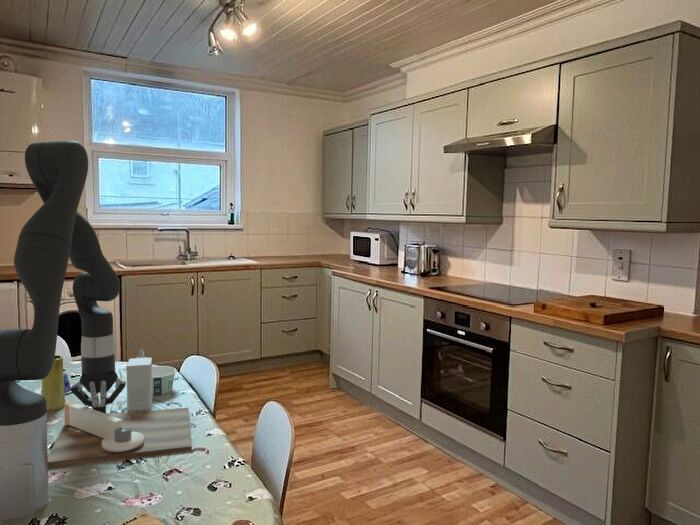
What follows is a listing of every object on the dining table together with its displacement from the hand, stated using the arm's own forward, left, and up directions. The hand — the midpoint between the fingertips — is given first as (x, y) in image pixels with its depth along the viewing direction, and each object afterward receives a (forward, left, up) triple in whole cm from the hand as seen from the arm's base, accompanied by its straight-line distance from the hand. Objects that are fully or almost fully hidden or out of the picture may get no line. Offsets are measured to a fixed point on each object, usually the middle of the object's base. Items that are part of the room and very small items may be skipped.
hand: (99, 420), depth 132 cm
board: (-5, -6, -3) cm, 9 cm away
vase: (+22, +15, -3) cm, 27 cm away
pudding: (+37, +17, -4) cm, 41 cm away
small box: (+17, -8, -3) cm, 19 cm away
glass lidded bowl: (+58, -8, -4) cm, 59 cm away
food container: (+29, -12, -3) cm, 32 cm away
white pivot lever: (-13, -6, -2) cm, 15 cm away
